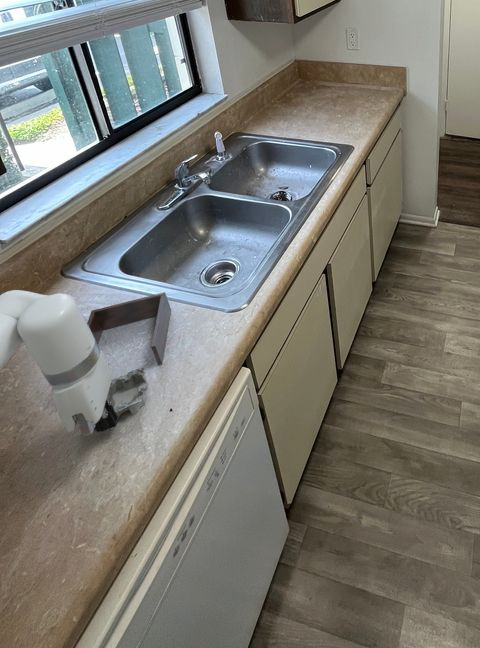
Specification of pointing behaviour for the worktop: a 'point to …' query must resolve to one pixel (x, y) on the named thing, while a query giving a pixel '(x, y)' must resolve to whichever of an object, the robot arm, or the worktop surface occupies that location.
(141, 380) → the egg carton
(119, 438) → the worktop surface
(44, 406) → the worktop surface
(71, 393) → the robot arm
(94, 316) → the frame
